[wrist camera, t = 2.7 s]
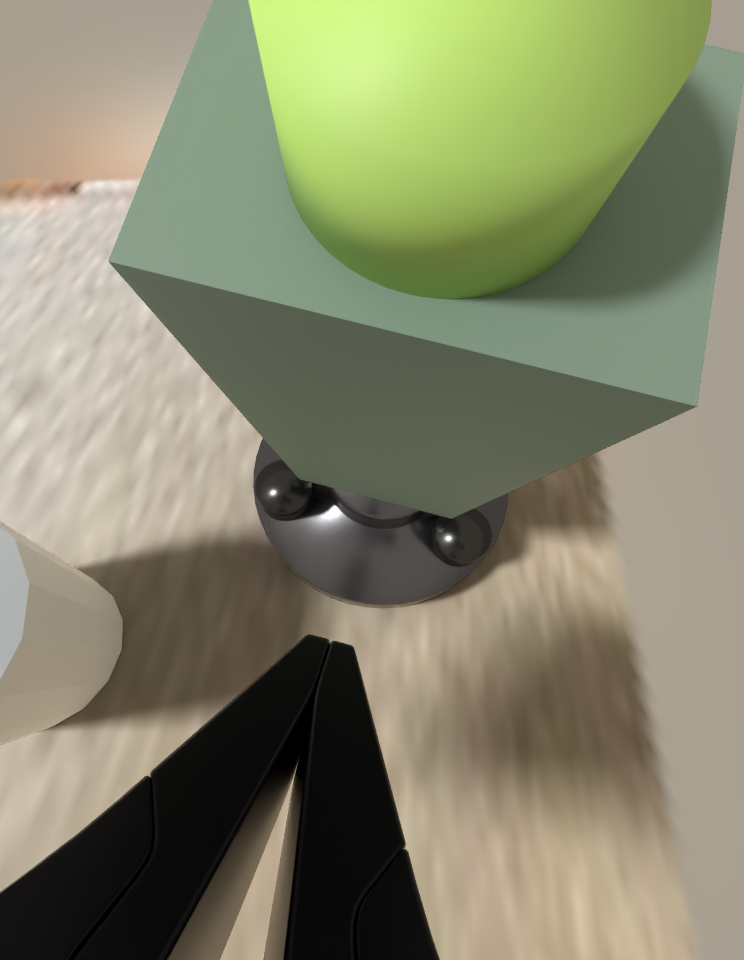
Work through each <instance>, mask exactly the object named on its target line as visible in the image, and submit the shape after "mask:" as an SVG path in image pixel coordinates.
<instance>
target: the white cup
mask: <svg viewBox="0 0 744 960" xmlns="http://www.w3.org/2000/svg"><path fill="white" fill-rule="evenodd" d="M122 632H123V619H122V617H121V614H120V612H119V609H118V607H117V604H116V602H115V599H114V597H113V596H112V595H111V594H110V593H109V592H108V591H107V590H105V589H104V588H103V587H102V586H101V585H100V584H98V583H97V582H96V581H95V580H94V579H92V578H90V577H89V576H87V575H86V574H84V573H82V572H81V571H79V570H78V569H76V568H74V567H73V566H71V565H70V564H68V563H66V562H65V561H63V560H62V559H60V558H58V557H57V556H55V555H53V554H52V553H50V552H49V551H47V550H45V549H44V548H42V547H41V546H39V545H37V544H36V543H34V542H33V541H31V540H29V539H28V538H26V537H25V536H23V535H21V534H20V533H18V532H17V531H15V530H13V529H12V528H10V527H9V526H7V525H5V524H4V523H2V522H1V521H0V745H2V744H5V743H8V742H11V741H14V740H16V739H19V738H22V737H25V736H28V735H30V734H33V733H36V732H39V731H42V730H44V729H47V728H50V727H53V726H55V725H56V724H58V723H60V722H61V721H63V720H65V719H67V718H68V717H70V716H72V715H73V714H75V713H77V712H79V711H80V710H82V709H84V708H85V707H86V706H87V704H88V703H89V702H90V701H91V700H92V699H93V698H94V697H95V695H96V694H97V693H98V692H99V691H100V690H101V689H102V688H103V687H104V685H105V684H106V683H107V682H108V681H109V678H110V676H111V674H112V671H113V669H114V667H115V665H116V662H117V660H118V658H119V655H120V653H121V651H122Z"/></svg>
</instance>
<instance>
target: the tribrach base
mask: <svg viewBox="0 0 744 960" xmlns="http://www.w3.org/2000/svg"><path fill="white" fill-rule="evenodd" d="M253 488H254V496H255V504H256V507H257V511H258V515H259V518H260V521H261V523H262V525H263V528H264V530H265V532H266V535H267V537H268V538H269V540H270V542H271V544H272V546H273V547H274V549H275V550H276V552H277V554H278V555H279V557H280V558H281V559H282V560H283V562H284V563H285V564H286V565H287V566H288V568H289V569H290V570H291V571H292V572H293V573H295V574H296V575H297V576H298V577H299V578H300V579H301V580H302V581H304V582H305V583H307V584H308V585H310V586H311V587H313V588H314V589H315V590H317V591H319V592H321V593H323V594H325V595H327V596H329V597H331V598H333V599H336V600H339V601H342V602H345V603H348V604H352V605H358V606H363V607H371V608H393V607H403V606H407V605H412V604H417V603H420V602H423V601H425V600H428V599H431V598H434V597H435V596H437V595H439V594H441V593H443V592H445V591H447V590H448V589H450V588H451V587H452V586H454V585H455V584H457V583H458V582H459V581H461V580H462V579H463V578H465V577H466V576H467V575H469V574H470V573H471V572H472V571H473V570H474V569H475V568H476V567H477V566H478V565H479V564H480V563H481V562H482V560H483V559H484V558H485V556H486V555H487V554H488V552H489V551H490V550H491V548H492V546H493V544H494V542H495V541H496V539H497V537H498V535H499V532H500V529H501V527H502V524H503V521H504V517H505V512H506V507H507V495H508V493H506V494H504V495H502V496H500V497H498V498H496V499H493V500H491V501H489V502H487V503H485V504H482V505H480V506H478V507H476V508H474V509H471V510H469V511H467V512H465V513H463V514H460V515H458V516H456V517H454V518H452V519H451V518H447V517H443V516H439V515H436V514H432V513H428V512H424V511H420V510H416V509H412V508H409V507H405V506H401V505H397V504H393V503H389V502H386V501H382V500H378V499H374V498H370V497H366V496H362V495H359V494H355V493H351V492H347V491H343V490H339V489H335V488H332V487H328V486H324V485H320V484H316V483H312V482H309V481H305V480H301V479H299V478H298V477H297V476H296V475H295V474H294V472H293V471H292V470H291V469H290V468H289V467H288V466H287V464H286V463H285V462H284V461H283V460H282V459H281V458H280V457H279V455H278V454H277V453H276V452H275V451H274V450H273V449H272V447H271V446H270V445H269V444H268V443H267V442H266V441H265V439H264V438H263V439H262V441H261V444H260V447H259V450H258V453H257V456H256V462H255V468H254V487H253Z"/></svg>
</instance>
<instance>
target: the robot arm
mask: <svg viewBox="0 0 744 960" xmlns="http://www.w3.org/2000/svg"><path fill="white" fill-rule="evenodd" d="M297 764H298V765H297ZM296 767H297V769H296ZM295 770H296V773H295ZM294 773H295V777H294V782H293V787H292V793H291V798H290V804H289V810H288V816H287V822H286V828H285V834H284V840H283V846H282V852H281V858H280V864H279V870H278V876H277V882H276V888H275V894H274V900H273V906H272V912H271V918H270V924H269V930H268V936H267V941H266V947H265V953H264V959H263V960H440V959H439V956H438V953H437V950H436V947H435V944H434V941H433V938H432V935H431V932H430V928H429V925H428V921H427V918H426V914H425V911H424V908H423V904H422V901H421V897H420V894H419V890H418V887H417V884H416V880H415V876H414V872H413V868H412V865H411V861H410V857H409V853H408V851H407V850H406V849H404V848H405V846H406V843H405V839H404V835H403V831H402V828H401V824H400V820H399V816H398V812H397V809H396V805H395V801H394V797H393V793H392V790H391V786H390V782H389V778H388V774H387V771H386V767H385V763H384V759H383V755H382V752H381V748H380V744H379V740H378V736H377V733H376V729H375V725H374V721H373V717H372V714H371V710H370V706H369V702H368V698H367V694H366V691H365V687H364V683H363V679H362V675H361V672H360V668H359V664H358V660H357V656H356V653H355V649H354V647H353V646H351V645H348V644H344V643H341V642H337V641H332V642H331V643H330V642H329V640H328V639H326V638H322V637H318V636H315V635H311V634H309V635H306V636H305V637H304V638H303V639H302V640H300V641H299V642H298V643H297V644H296V645H295V646H294V647H292V648H291V649H290V650H289V651H288V652H287V653H286V654H284V655H283V656H282V657H281V658H280V659H279V660H278V661H276V662H275V663H274V664H273V665H272V666H271V667H270V668H268V669H267V670H266V671H265V672H264V673H263V674H262V675H260V676H259V677H258V678H257V679H256V680H255V681H254V682H252V683H251V684H250V685H249V686H248V687H247V688H246V689H245V690H243V691H242V692H241V693H240V694H239V695H238V696H237V697H235V698H234V699H233V700H232V701H231V702H230V703H229V704H227V705H226V706H225V707H224V708H223V709H222V710H221V711H219V712H218V713H217V714H216V715H215V716H214V717H213V718H211V719H210V720H209V721H208V722H207V723H206V724H205V725H203V726H202V727H201V728H200V729H199V730H198V731H197V732H195V733H194V734H193V735H192V736H191V737H190V738H189V739H188V740H186V741H185V742H184V743H183V744H182V745H181V746H180V747H178V748H177V749H176V750H175V751H174V752H173V753H172V754H170V755H169V756H168V757H167V758H166V759H165V760H164V761H162V762H161V763H160V764H159V765H158V766H157V767H156V768H154V769H153V770H152V771H151V773H150V777H149V776H145V777H144V778H143V779H142V780H140V781H139V782H138V783H137V784H136V785H135V786H134V787H132V788H131V789H130V790H129V791H128V792H127V793H126V794H124V795H123V796H122V797H121V798H120V799H119V800H118V801H116V802H115V803H114V804H113V805H112V806H110V807H109V808H108V809H107V810H106V811H104V812H103V813H102V814H101V815H100V816H98V817H97V818H96V819H95V820H94V821H92V822H91V823H90V824H89V825H88V826H86V827H85V828H84V829H83V830H82V831H80V832H79V833H78V834H77V835H75V836H74V837H73V838H71V839H70V840H69V841H67V842H66V843H65V844H64V845H62V846H61V847H60V848H58V849H57V850H56V851H54V852H53V853H52V854H50V855H49V856H48V857H46V858H45V859H44V860H43V861H41V862H40V863H39V864H37V865H36V866H35V867H33V868H32V869H31V870H29V871H28V872H27V873H25V874H24V875H23V876H21V877H20V878H19V879H17V880H16V881H15V882H13V883H12V884H10V885H9V886H8V887H6V888H5V889H4V890H2V891H1V892H0V960H220V958H221V956H222V953H223V951H224V948H225V946H226V943H227V941H228V938H229V936H230V933H231V931H232V928H233V926H234V923H235V921H236V919H237V916H238V914H239V911H240V909H241V906H242V904H243V901H244V899H245V896H246V894H247V891H248V889H249V886H250V884H251V881H252V879H253V877H254V874H255V872H256V869H257V867H258V864H259V862H260V859H261V857H262V854H263V852H264V849H265V847H266V844H267V842H268V839H269V837H270V834H271V832H272V830H273V827H274V825H275V822H276V820H277V817H278V815H279V812H280V810H281V807H282V805H283V802H284V800H285V797H286V795H287V792H288V790H289V787H290V784H291V782H292V779H293V776H294Z"/></svg>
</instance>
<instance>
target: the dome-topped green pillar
mask: <svg viewBox="0 0 744 960" xmlns="http://www.w3.org/2000/svg"><path fill="white" fill-rule="evenodd" d="M711 2H712V0H213V2H212V5H211V7H210V9H209V12H208V14H207V17H206V19H205V22H204V24H203V27H202V29H201V32H200V34H199V36H198V39H197V41H196V44H195V46H194V49H193V51H192V54H191V56H190V59H189V62H188V64H187V66H186V69H185V71H184V74H183V76H182V79H181V82H180V84H179V87H178V89H177V91H176V94H175V96H174V99H173V102H172V104H171V106H170V109H169V111H168V114H167V116H166V119H165V121H164V124H163V126H162V129H161V131H160V134H159V136H158V139H157V141H156V144H155V146H154V149H153V151H152V154H151V156H150V159H149V161H148V164H147V166H146V169H145V171H144V174H143V176H142V179H141V181H140V184H139V186H138V189H137V191H136V194H135V196H134V198H133V201H132V203H131V206H130V208H129V211H128V213H127V216H126V218H125V221H124V223H123V226H122V228H121V231H120V233H119V236H118V238H117V241H116V243H115V246H114V248H113V251H112V253H111V256H110V258H109V261H108V262H109V263H110V264H111V265H112V266H113V267H114V268H115V269H116V271H117V272H118V273H119V274H120V275H121V276H122V277H123V279H124V280H125V281H126V282H127V283H128V284H129V285H130V287H131V288H132V289H133V290H134V291H135V292H136V293H137V295H138V296H139V297H140V298H141V299H142V300H143V301H144V303H145V304H146V305H147V306H148V307H149V308H150V309H151V311H152V312H153V313H154V314H155V315H156V316H157V317H158V319H159V320H160V321H161V322H162V323H163V324H164V325H165V327H166V328H167V329H168V330H169V331H170V332H171V333H172V334H173V336H174V337H175V338H176V339H177V340H178V341H179V342H180V344H181V345H182V346H183V347H184V348H185V349H186V350H187V352H188V353H189V354H190V355H191V356H192V357H193V358H194V360H195V361H196V362H197V363H198V364H199V365H200V366H201V368H202V369H203V370H204V371H205V372H206V373H207V374H208V376H209V377H210V378H211V379H212V380H213V381H214V382H215V384H216V385H217V386H218V387H219V388H220V389H221V390H222V392H223V393H224V394H225V395H226V396H227V397H228V398H229V399H230V401H231V402H232V403H233V404H234V405H235V406H236V407H237V409H238V410H239V411H240V412H241V413H242V414H243V415H244V417H245V418H246V419H247V420H248V421H249V422H250V423H251V425H252V426H253V427H254V428H255V429H256V430H257V431H258V433H259V434H260V435H261V436H262V437H263V438H264V439H265V441H266V442H267V443H268V444H269V445H270V446H271V447H272V449H273V450H274V451H275V452H276V453H277V454H278V455H279V457H280V458H281V459H282V460H283V461H284V462H285V463H286V464H287V466H288V467H289V468H290V469H291V470H292V471H293V472H294V474H295V475H296V476H297V477H298V478H299V479H301V480H305V481H309V482H312V483H316V484H320V485H324V486H328V487H332V488H335V489H339V490H343V491H347V492H351V493H355V494H359V495H362V496H366V497H370V498H374V499H378V500H382V501H386V502H389V503H393V504H397V505H401V506H405V507H409V508H412V509H416V510H420V511H424V512H428V513H432V514H436V515H439V516H443V517H447V518H451V519H452V518H454V517H456V516H458V515H460V514H463V513H465V512H467V511H469V510H471V509H474V508H476V507H478V506H480V505H482V504H485V503H487V502H489V501H491V500H493V499H496V498H498V497H500V496H502V495H504V494H506V493H509V492H511V491H513V490H515V489H517V488H520V487H522V486H524V485H526V484H528V483H531V482H533V481H535V480H537V479H539V478H542V477H544V476H546V475H548V474H550V473H552V472H555V471H557V470H559V469H561V468H563V467H566V466H568V465H570V464H572V463H574V462H577V461H579V460H581V459H583V458H585V457H588V456H590V455H592V454H594V453H596V452H598V451H601V450H603V449H605V448H607V447H609V446H612V445H614V444H616V443H618V442H620V441H622V440H625V439H627V438H629V437H631V436H633V435H636V434H638V433H640V432H642V431H644V430H646V429H649V428H651V427H653V426H655V425H658V424H660V423H662V422H664V421H666V420H669V419H671V418H673V417H675V416H677V415H679V414H682V413H684V412H686V411H688V410H690V409H692V408H695V407H697V404H698V397H699V389H700V382H701V375H702V368H703V361H704V354H705V347H706V340H707V333H708V325H709V318H710V311H711V305H712V298H713V291H714V283H715V277H716V269H717V263H718V255H719V248H720V241H721V234H722V227H723V220H724V213H725V206H726V199H727V192H728V185H729V177H730V171H731V164H732V156H733V150H734V143H735V136H736V129H737V122H738V114H739V108H740V101H741V94H742V86H743V79H744V53H741V52H737V51H732V50H728V49H723V48H719V47H714V46H710V45H705V44H704V43H705V39H706V35H707V31H708V27H709V23H710V14H711Z"/></svg>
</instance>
